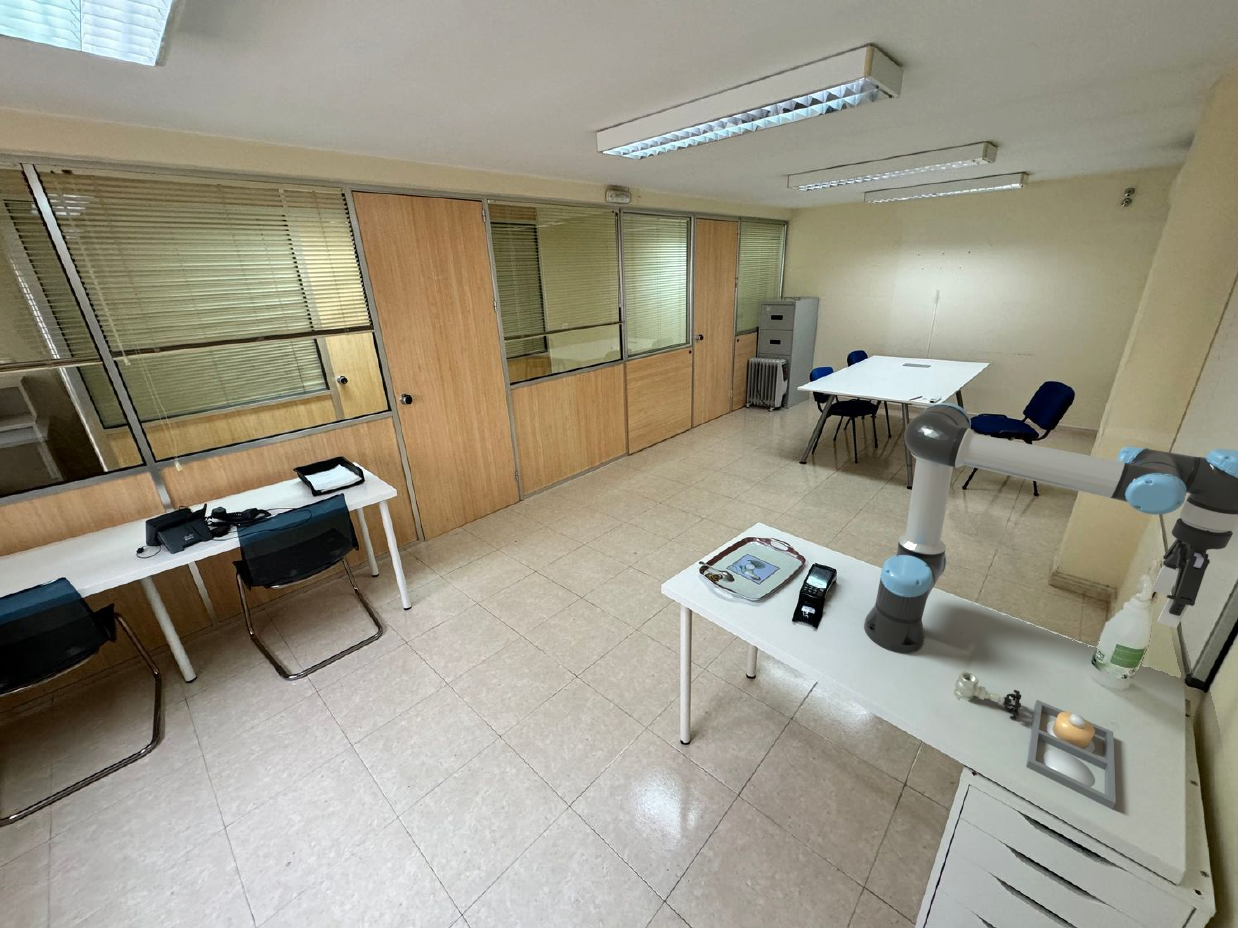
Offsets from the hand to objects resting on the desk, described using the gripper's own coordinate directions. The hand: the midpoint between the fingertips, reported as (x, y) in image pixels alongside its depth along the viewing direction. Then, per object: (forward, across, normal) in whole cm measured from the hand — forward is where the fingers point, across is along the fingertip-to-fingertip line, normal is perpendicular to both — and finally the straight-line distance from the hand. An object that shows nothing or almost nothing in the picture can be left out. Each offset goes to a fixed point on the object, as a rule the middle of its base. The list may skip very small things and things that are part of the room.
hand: (1163, 607), depth 106 cm
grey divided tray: (+27, -27, +9) cm, 39 cm away
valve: (+27, -23, +24) cm, 43 cm away
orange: (+26, -22, +9) cm, 35 cm away
